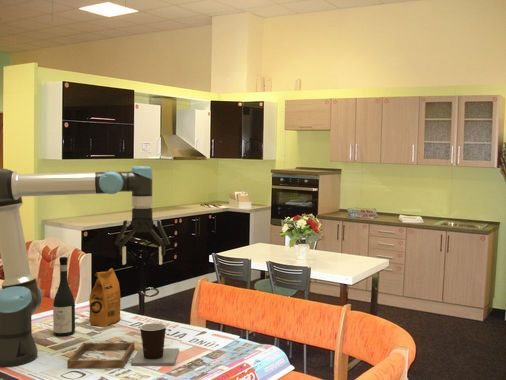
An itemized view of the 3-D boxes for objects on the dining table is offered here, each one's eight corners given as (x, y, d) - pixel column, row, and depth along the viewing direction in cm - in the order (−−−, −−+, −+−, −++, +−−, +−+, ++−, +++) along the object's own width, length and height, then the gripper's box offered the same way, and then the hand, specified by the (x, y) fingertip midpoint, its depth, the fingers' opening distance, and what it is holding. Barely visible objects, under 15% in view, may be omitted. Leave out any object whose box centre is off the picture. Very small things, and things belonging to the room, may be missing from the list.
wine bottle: (70, 336, 206) (69, 259, 205) (50, 336, 207) (49, 258, 205) (78, 330, 214) (77, 255, 213) (58, 330, 215) (57, 255, 213)
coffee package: (85, 325, 222) (84, 272, 221) (105, 317, 234) (104, 267, 233) (104, 328, 218) (104, 274, 217) (123, 320, 229) (123, 268, 229)
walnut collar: (67, 368, 174) (67, 360, 174) (83, 349, 192) (83, 342, 192) (123, 368, 174) (123, 360, 174) (134, 349, 192) (134, 342, 192)
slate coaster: (131, 365, 176) (130, 362, 176) (139, 351, 190) (139, 348, 190) (173, 365, 177) (173, 362, 177) (178, 351, 191) (178, 348, 191)
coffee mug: (160, 361, 177) (160, 331, 177) (136, 359, 179) (135, 329, 179) (173, 349, 189) (172, 321, 188) (150, 348, 191) (149, 320, 190)
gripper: (176, 206, 205) (177, 262, 206) (111, 206, 205) (111, 262, 206) (174, 208, 198) (174, 265, 199) (106, 208, 197) (106, 265, 198)
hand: (142, 264), depth 202 cm, fingers open, 13 cm apart
